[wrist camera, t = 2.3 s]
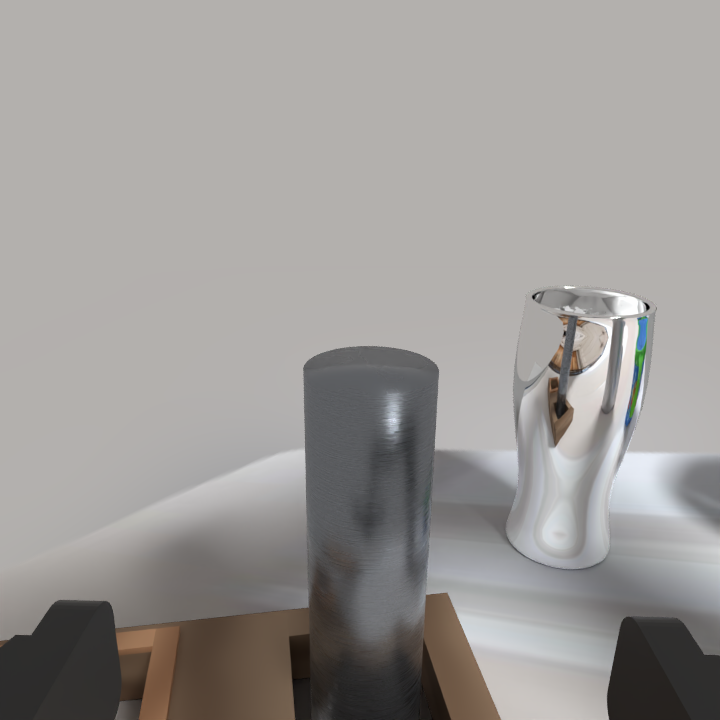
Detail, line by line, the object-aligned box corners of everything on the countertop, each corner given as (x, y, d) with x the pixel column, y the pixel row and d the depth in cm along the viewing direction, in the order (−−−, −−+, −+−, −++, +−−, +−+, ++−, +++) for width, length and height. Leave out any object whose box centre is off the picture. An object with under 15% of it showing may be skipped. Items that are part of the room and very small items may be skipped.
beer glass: (633, 534, 39) (678, 298, 33) (590, 593, 34) (635, 327, 28) (529, 493, 43) (554, 278, 38) (477, 541, 38) (498, 300, 33)
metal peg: (404, 678, 28) (419, 343, 23) (430, 770, 24) (456, 390, 19) (307, 691, 28) (298, 348, 22) (316, 788, 24) (309, 399, 18)
